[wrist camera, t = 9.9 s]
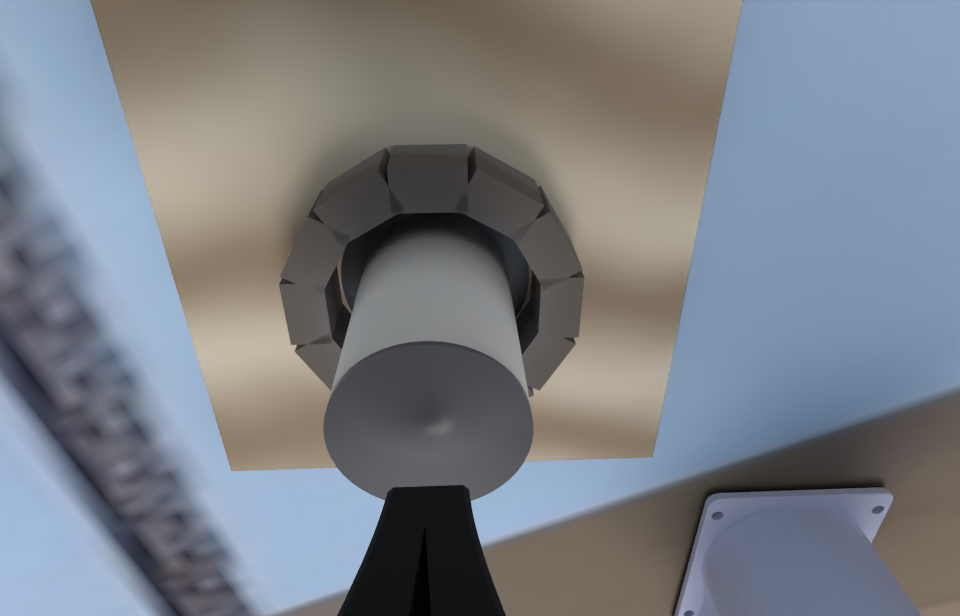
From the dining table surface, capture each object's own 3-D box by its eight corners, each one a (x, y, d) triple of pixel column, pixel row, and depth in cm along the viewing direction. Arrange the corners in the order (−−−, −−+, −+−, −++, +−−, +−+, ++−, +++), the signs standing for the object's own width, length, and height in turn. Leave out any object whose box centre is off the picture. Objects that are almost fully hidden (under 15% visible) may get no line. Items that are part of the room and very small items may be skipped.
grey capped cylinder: (504, 336, 20) (528, 504, 14) (370, 338, 20) (336, 509, 14) (509, 210, 18) (539, 347, 12) (357, 211, 18) (309, 351, 12)
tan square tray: (645, 438, 24) (668, 497, 22) (239, 451, 24) (213, 513, 21) (729, -16, 16) (782, -7, 13) (108, -12, 15) (39, -2, 13)
